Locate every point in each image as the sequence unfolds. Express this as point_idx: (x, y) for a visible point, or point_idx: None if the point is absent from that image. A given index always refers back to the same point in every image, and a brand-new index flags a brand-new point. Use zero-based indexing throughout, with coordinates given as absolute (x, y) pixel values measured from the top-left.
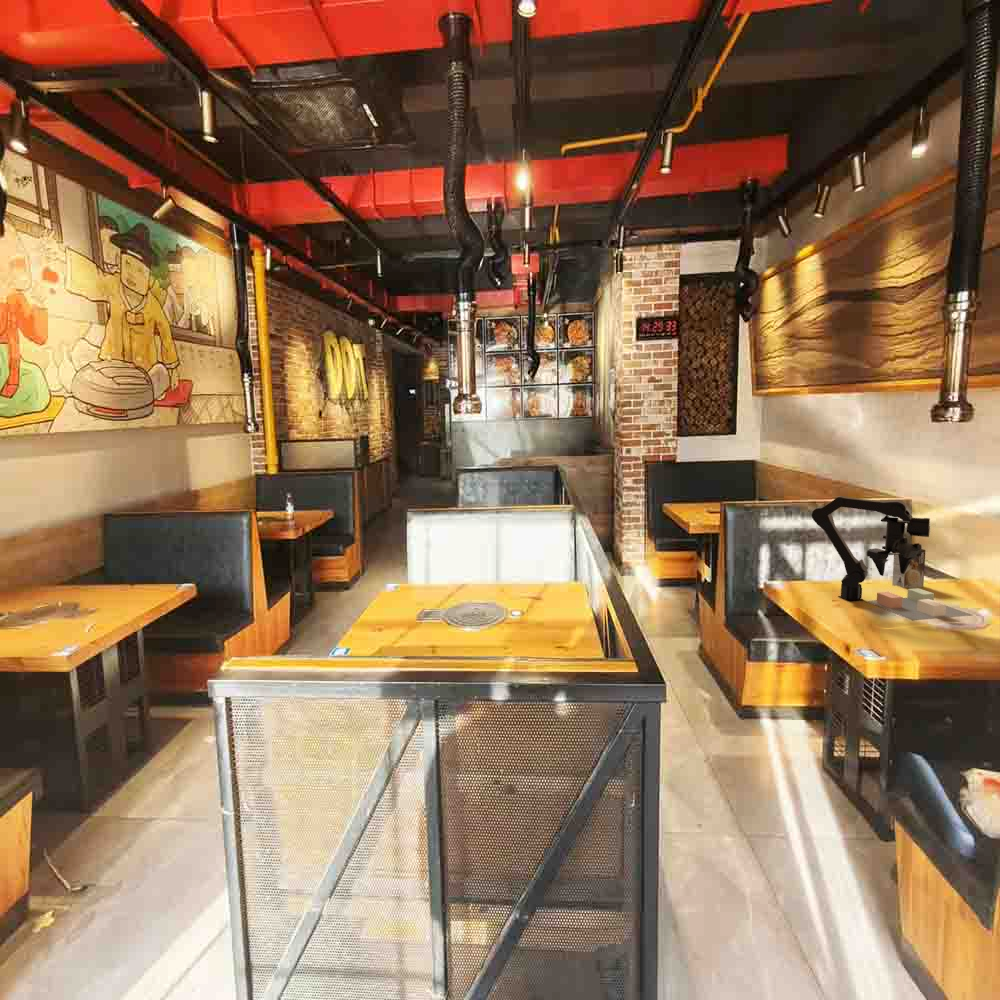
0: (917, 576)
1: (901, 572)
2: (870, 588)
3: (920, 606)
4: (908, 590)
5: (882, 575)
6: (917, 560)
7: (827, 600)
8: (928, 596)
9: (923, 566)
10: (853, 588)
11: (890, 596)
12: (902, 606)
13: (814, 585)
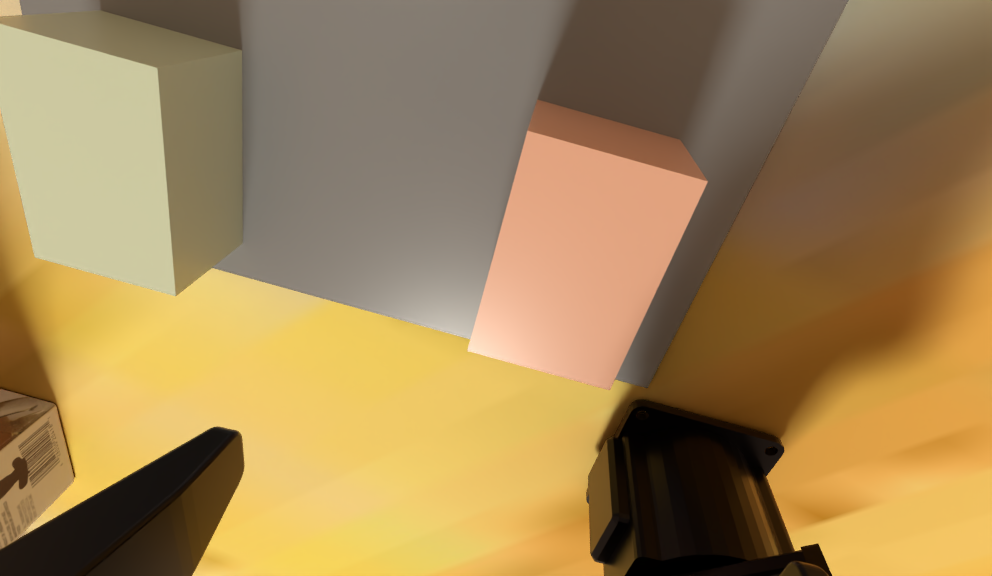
0: None
1: (232, 481)
2: (282, 511)
3: None
4: (184, 280)
5: (826, 573)
6: None
7: (858, 533)
8: (98, 39)
9: None
10: (766, 547)
11: (646, 229)
12: (499, 120)
13: None
